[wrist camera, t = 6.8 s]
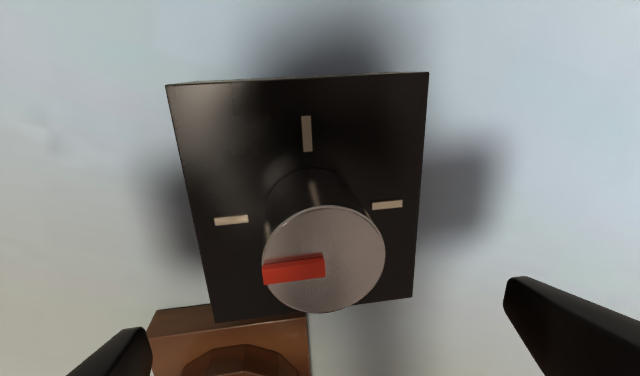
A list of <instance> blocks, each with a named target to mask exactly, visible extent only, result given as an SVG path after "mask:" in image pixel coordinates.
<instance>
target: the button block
mask: <svg viewBox="0 0 640 376" xmlns="http://www.w3.org/2000/svg"><path fill="white" fill-rule="evenodd" d="M146 334H147V337H148V340H149V344H150V347H151V350H152V354H153V362H152V367H151V368H152V371H153V374H154V376H311V375H310V361H309V348H308V335H307V322H306V312H299V313H291V314H284V315H276V316H269V317H261V318H254V319H247V320H239V321H232V322H224V323H217V324H215V322H214V317H213V312H212V307H211V304H208V305H200V306H192V307H185V308H177V309H169V310H161V311H156V313H155V315H154V317H153V319H152V321H151V323H150V325H149V327H148V329H147V331H146Z"/></svg>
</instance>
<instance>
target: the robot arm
mask: <svg viewBox="0 0 640 376" xmlns="http://www.w3.org/2000/svg"><path fill="white" fill-rule="evenodd" d="M503 308H504V311H505V313H506V315H507V316H508V318H509V320H510V321H511V323H512V324H513V326H514V328H515V329H516V331H517V332H518V334H519V336H520V337H521V339H522V340H523V342H524V344H525V345H526V347H527V348H528V350H529V352H530V353H531V355H532V356H533V358H534V360H535V361H536V363H537V364H538V366H539V367H540V369H541V370H542V372H543V373H544V375H545V376H640V321H638V320H635V319H633V318H630V317H628V316H625V315H622V314H620V313H617V312H615V311H612V310H610V309H607V308H605V307H602V306H600V305H597V304H595V303H592V302H590V301H587V300H585V299H582V298H580V297H577V296H575V295H572V294H570V293H567V292H565V291H562V290H560V289H557V288H555V287H552V286H550V285H547V284H545V283H542V282H540V281H537V280H535V279H532V278H530V277H527V276H520V277H513V278H510V279H509V280H508V281H507V285H506V290H505V295H504V299H503ZM152 362H153V354H152V350H151V347H150V344H149V340H148V337H147V334H146V331H145V329H144V328H142V327H135V328H127V329H123V330H121V331H120V332H119V333H117V334H116V335H115V336H114V337H113V338H111V339H110V340H109V341H108V342H106V343H105V344H104V345H103V346H102V347H100V348H99V349H98V350H97V351H96V352H94V353H93V354H92V355H91V356H89V357H88V358H87V359H86V360H85V361H83V362H82V363H81V364H80V365H78V366H77V367H76V368H75V369H74V370H72V371H71V372H70V373H69V374H68V375H66V376H150V371H151V367H152Z"/></svg>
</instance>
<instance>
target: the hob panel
mask: <svg viewBox="0 0 640 376" xmlns="http://www.w3.org/2000/svg"><path fill="white" fill-rule="evenodd" d="M428 84H429V72H380V73H360V74H339V75H318V76H298V77H277V78H257V79H236V80H215V81H195V82H185V83H177V84H168V85H165V89H166V94H167V98H168V103H169V108H170V113H171V117H172V122H173V127H174V132H175V136H176V141H177V146H178V151H179V155H180V160H181V165H182V170H183V174H184V179H185V184H186V189H187V193H188V198H189V203H190V208H191V212H192V217H193V222H194V227H195V231H196V236H197V241H198V246H199V250H200V255H201V260H202V265H203V269H204V274H205V279H206V284H207V288H208V293H209V298H210V303H211V307H212V312H213V317H214V322H215V324H217V323H224V322H232V321H239V320H247V319H254V318H261V317H269V316H276V315H284V314H291V313H299V312H303V311H299V310H296V309H293V308H291V307H289V306H287V305H285V304H284V303H282V302H281V301H280V300H278V299H277V298H276V297H275V296H274V295H273V293H272V292H271V291H270V290H269V288H268V286H267V285H264V282H263V275H262V264H261V262H262V247H263V233H264V218H265V206H266V202H267V199H268V196H269V194H270V192H271V190H272V189H273V188H274V186H275V185H276V184H277V183H278V182H279V181H280V180H281V179H283V178H284V177H285V176H287V175H289V174H291V173H293V172H295V171H298V170H302V169H308V168H318V169H324V170H328V171H331V172H333V173H335V174H337V175H339V176H340V177H341V178H343V179H344V180H345V181H346V182H347V183H348V185H349V186H350V187H351V189H352V190H353V192H354V193H355V195H356V196H357V198H358V199H359V201H360V202H361V204H362V205H363V207H364V208H365V210H366V211H367V213H368V214H369V216H370V217H371V219H372V220H373V222H374V224H375V225H376V227H377V228H378V230H379V232H380V233H381V235H382V238H383V241H384V245H385V263H384V267H383V271H382V273H381V276H380V278H379V279H378V281H377V283H376V284H375V286H374V287H373V288H372V289H371V290H370V291H369V293H368V294H366V295H365V296H364V297H363V298H362V299H360V300H359V301H357V302H356V303H354V304H352V305H358V304H366V303H373V302H381V301H388V300H395V299H403V298H410V297H412V292H413V279H414V266H415V253H416V240H417V227H418V214H419V201H420V188H421V175H422V162H423V149H424V136H425V123H426V110H427V97H428ZM350 306H351V305H350Z"/></svg>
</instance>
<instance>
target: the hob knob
mask: <svg viewBox="0 0 640 376" xmlns="http://www.w3.org/2000/svg"><path fill="white" fill-rule="evenodd" d="M384 263H385V245H384V241H383V238H382V235H381V233H380V232H379V230H378V228H377V227H376V225H375V224H374V222H373V220H372V219H371V217H370V216H369V214H368V213H367V211H366V210H365V208H364V207H363V205H362V204H361V202H360V201H359V199H358V198H357V196H356V195H355V193H354V192H353V190H352V189H351V187H350V186H349V185H348V183H347V182H346V181H345V180H344V179H343V178H341V177H340V176H339V175H337V174H335V173H333V172H331V171H328V170H324V169H318V168H308V169H302V170H298V171H295V172H293V173H291V174H289V175H287V176H285V177H284V178H283V179H281V180H280V181H279V182H278V183H277V184H276V185H275V186H274V188H273V189H272V190H271V192H270V194H269V196H268V199H267V202H266V206H265V218H264V233H263V247H262V262H261V264H262V275H263V282H264V285H267V286H268V288H269V290H270V291H271V292H272V293H273V295H274V296H275V297H276V298H277V299H278V300H280V301H281V302H282V303H284V304H285V305H287V306H289V307H291V308H293V309H296V310H299V311H303V312H308V313H328V312H333V311H337V310H341V309H344V308H346V307H348V306H350V305H352V304H354V303H356V302H357V301H359V300H360V299H362V298H363V297H364V296H365V295H366V294H368V293H369V291H370V290H371V289H372V288H373V287H374V286H375V284H376V283H377V281H378V279H379V278H380V276H381V273H382V271H383V267H384Z"/></svg>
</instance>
